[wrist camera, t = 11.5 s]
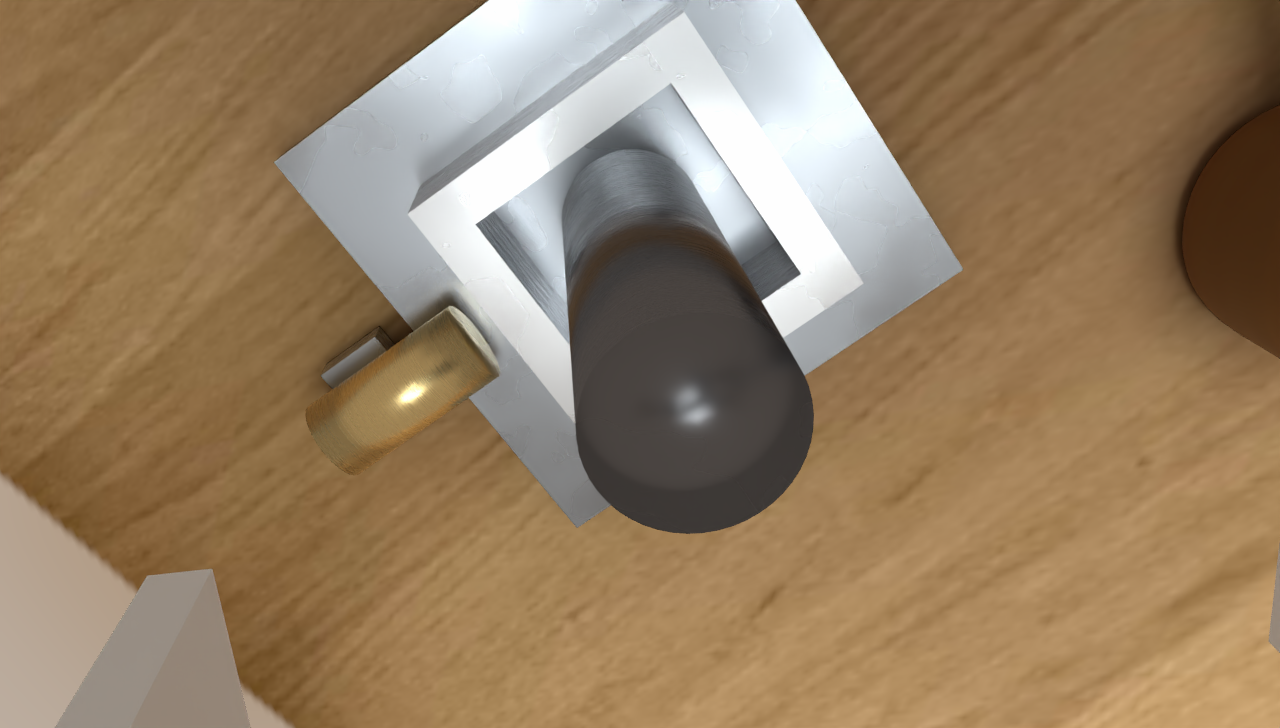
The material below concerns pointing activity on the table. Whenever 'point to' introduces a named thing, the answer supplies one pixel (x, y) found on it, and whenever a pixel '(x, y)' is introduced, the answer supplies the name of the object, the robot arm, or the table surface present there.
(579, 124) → the open box on baseplate
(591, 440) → the dark cylinder
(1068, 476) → the table surface
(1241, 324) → the mug
